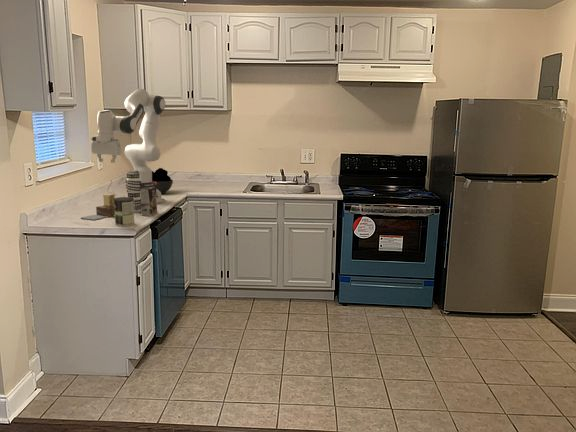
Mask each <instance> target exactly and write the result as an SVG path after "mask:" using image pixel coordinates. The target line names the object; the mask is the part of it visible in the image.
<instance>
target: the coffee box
mask: <svg viewBox="0 0 576 432" xmlns="http://www.w3.org/2000/svg"><path fill="white" fill-rule="evenodd" d="M140 213H141V216H143V217H144V216H145V217H152V216H153V215H156V214H158V203H157V194H156V187H145V188H142V189H141V211H140Z"/></svg>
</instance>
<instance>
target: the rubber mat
mask: <svg viewBox="0 0 576 432" xmlns="http://www.w3.org/2000/svg"><path fill="white" fill-rule="evenodd" d="M106 218H108V217H107V216H101V215H97V214H91V215H87V216H81V217H80V219H81V220H87V221H94V222H95V221H98V220H102V219H106Z"/></svg>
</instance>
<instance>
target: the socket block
mask: <svg viewBox="0 0 576 432" xmlns="http://www.w3.org/2000/svg"><path fill="white" fill-rule="evenodd" d="M95 208H96V215H101V216H107V217H106V218H108V217H109V218H111V217H115V207H104V204H103V205H99V206H96V207H95Z"/></svg>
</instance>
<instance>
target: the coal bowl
mask: <svg viewBox="0 0 576 432" xmlns="http://www.w3.org/2000/svg"><path fill="white" fill-rule="evenodd" d="M151 171H152V182H157V184H156V185H155V184H154V187H156V189H157V190H159V191H160V192H161V194H164V193H167V192H168V191H169V190H170V189H171V188H172V186H173V183H174V180H173V178H171V176H169V175H168V170H166V169H164V168H163V167H158V168H157V169H156V170H155V171H153V170H151Z"/></svg>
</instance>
